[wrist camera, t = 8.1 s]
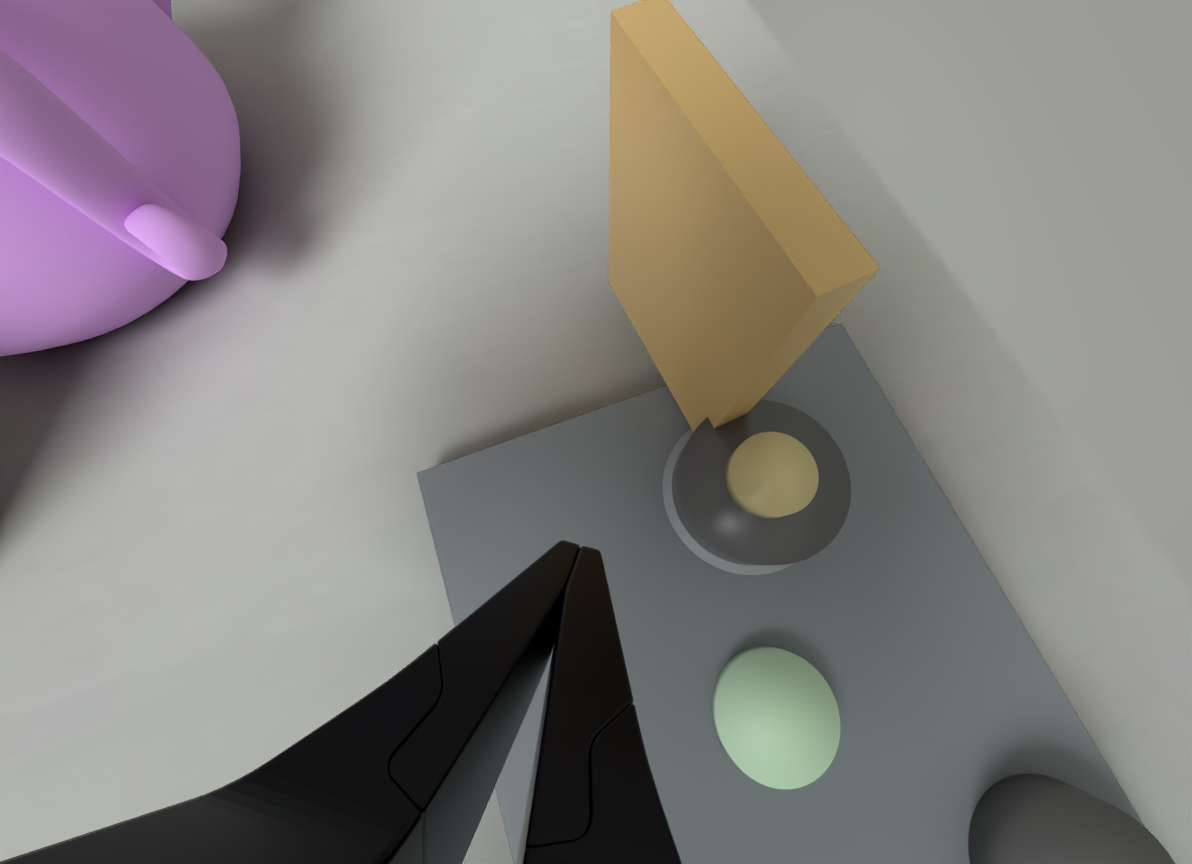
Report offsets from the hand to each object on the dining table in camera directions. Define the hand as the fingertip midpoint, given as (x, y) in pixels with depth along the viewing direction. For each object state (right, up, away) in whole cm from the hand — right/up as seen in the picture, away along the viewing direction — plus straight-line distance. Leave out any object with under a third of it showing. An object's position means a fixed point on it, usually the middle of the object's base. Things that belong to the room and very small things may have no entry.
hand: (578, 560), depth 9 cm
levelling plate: (+5, -5, +6) cm, 9 cm away
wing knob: (+4, +4, +7) cm, 9 cm away
